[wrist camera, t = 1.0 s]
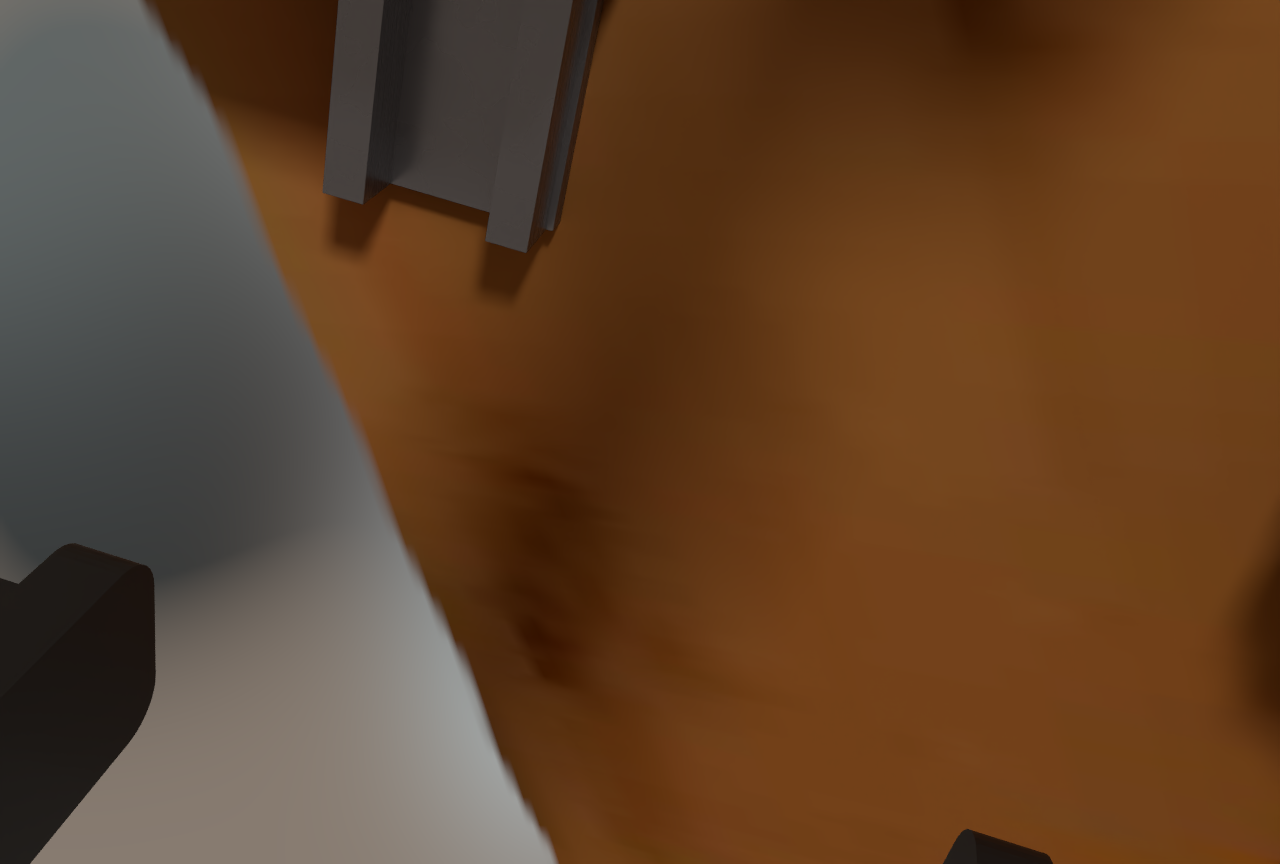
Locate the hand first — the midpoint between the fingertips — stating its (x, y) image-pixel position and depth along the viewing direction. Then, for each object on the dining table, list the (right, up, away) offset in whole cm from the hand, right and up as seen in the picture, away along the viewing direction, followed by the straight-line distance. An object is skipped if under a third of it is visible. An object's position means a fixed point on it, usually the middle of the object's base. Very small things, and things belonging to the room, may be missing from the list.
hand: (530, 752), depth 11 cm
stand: (-5, +16, +30) cm, 34 cm away
